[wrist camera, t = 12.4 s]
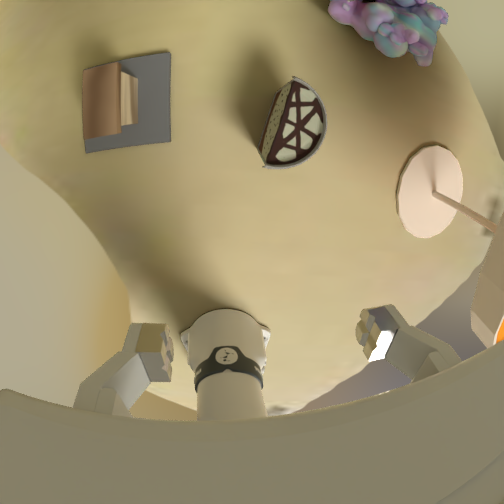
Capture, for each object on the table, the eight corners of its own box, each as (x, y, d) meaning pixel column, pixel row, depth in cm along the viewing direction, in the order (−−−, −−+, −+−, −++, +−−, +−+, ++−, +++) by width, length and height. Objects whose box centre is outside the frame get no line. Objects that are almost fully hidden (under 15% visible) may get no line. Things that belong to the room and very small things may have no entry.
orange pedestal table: (476, 221, 50) (562, 286, 22) (391, 279, 54) (474, 385, 26) (459, 105, 36) (584, 140, 9) (354, 152, 40) (516, 229, 13)
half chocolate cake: (291, 169, 41) (312, 185, 32) (254, 158, 39) (264, 170, 30) (316, 97, 35) (343, 93, 27) (278, 83, 34) (296, 73, 25)
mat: (171, 141, 36) (169, 142, 35) (88, 152, 35) (85, 153, 34) (171, 53, 30) (169, 52, 29) (86, 70, 28) (83, 69, 27)
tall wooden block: (137, 72, 30) (116, 61, 22) (138, 129, 34) (117, 133, 26) (109, 78, 29) (83, 70, 21) (110, 134, 33) (83, 139, 25)
